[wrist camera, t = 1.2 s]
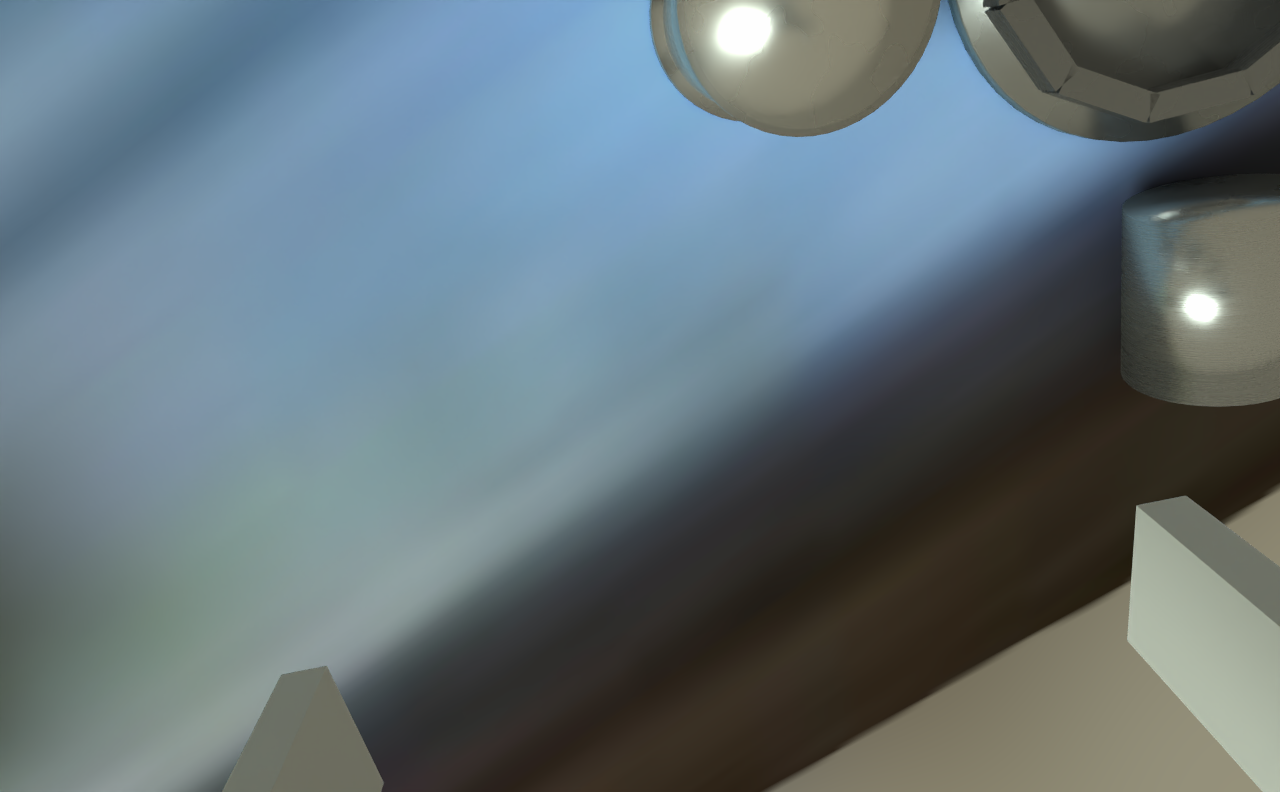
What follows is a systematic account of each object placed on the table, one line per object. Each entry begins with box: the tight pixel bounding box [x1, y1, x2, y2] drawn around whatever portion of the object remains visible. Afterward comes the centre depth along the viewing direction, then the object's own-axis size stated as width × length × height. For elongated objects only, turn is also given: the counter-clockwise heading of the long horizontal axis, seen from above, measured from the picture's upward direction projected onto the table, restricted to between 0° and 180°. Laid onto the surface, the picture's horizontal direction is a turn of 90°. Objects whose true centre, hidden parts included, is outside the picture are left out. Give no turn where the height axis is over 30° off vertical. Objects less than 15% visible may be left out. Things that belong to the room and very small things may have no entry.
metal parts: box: [948, 0, 1280, 406], centre depth 26 cm, size 25×16×6 cm, turn 14°
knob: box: [649, 0, 940, 137], centre depth 24 cm, size 7×7×9 cm
